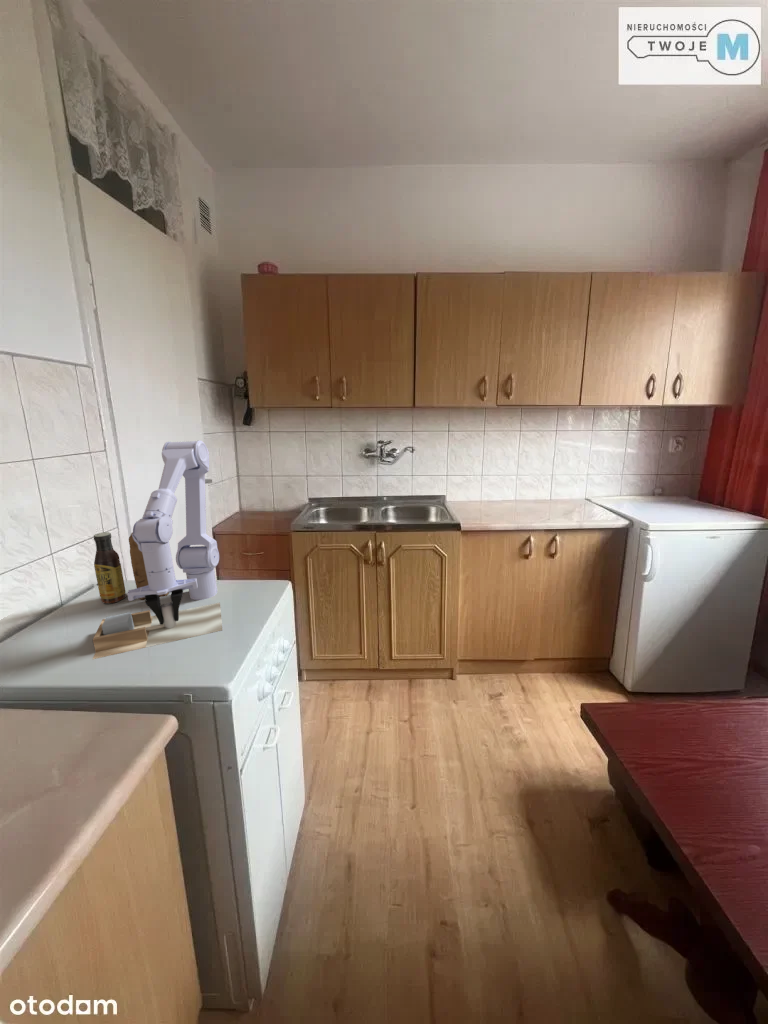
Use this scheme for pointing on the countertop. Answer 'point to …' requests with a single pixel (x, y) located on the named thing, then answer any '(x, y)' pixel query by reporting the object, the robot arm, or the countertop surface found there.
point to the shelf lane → (158, 630)
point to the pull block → (126, 623)
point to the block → (138, 566)
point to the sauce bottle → (108, 570)
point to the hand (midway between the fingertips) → (169, 620)
